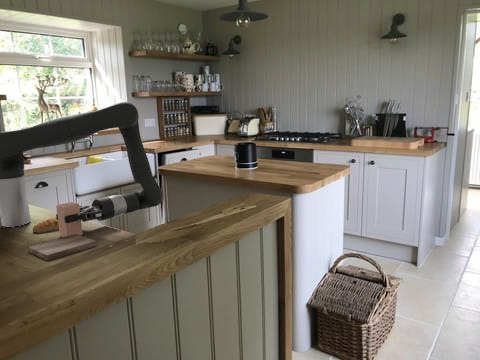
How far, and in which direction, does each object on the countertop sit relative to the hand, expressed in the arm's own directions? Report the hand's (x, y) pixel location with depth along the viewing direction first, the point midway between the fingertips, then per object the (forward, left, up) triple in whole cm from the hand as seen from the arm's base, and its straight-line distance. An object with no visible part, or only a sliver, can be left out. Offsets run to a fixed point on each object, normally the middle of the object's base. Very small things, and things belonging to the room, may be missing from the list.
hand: (61, 218), depth 126 cm
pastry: (-13, +2, -7) cm, 15 cm away
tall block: (0, +3, -6) cm, 7 cm away
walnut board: (+11, -5, -6) cm, 14 cm away
